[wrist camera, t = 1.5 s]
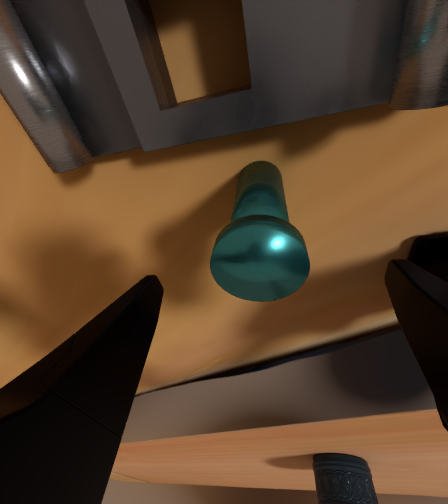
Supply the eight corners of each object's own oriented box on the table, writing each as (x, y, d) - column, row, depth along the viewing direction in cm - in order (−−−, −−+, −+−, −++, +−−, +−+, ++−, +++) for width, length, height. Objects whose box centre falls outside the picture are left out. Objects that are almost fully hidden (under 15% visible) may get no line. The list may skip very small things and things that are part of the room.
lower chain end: (286, 111, 14) (293, 126, 11) (63, 159, 17) (21, 180, 14) (276, -127, 9) (283, -223, 6) (-30, 8, 13) (-121, -9, 10)
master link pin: (290, 204, 17) (309, 299, 10) (237, 210, 18) (221, 302, 11) (288, 147, 15) (310, 222, 8) (226, 158, 16) (198, 234, 9)
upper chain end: (449, 77, 12) (551, 85, 8) (161, 138, 15) (124, 166, 11) (546, -246, 7) (954, -688, 3) (98, -48, 11) (-7, -118, 7)
